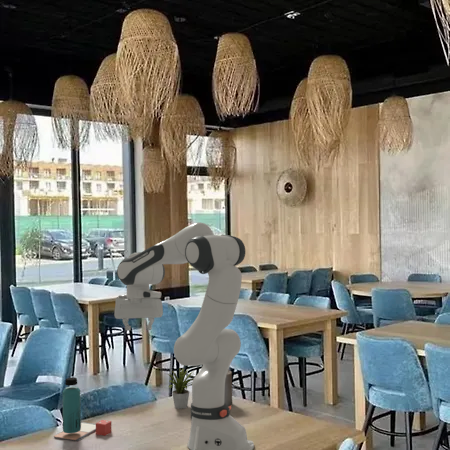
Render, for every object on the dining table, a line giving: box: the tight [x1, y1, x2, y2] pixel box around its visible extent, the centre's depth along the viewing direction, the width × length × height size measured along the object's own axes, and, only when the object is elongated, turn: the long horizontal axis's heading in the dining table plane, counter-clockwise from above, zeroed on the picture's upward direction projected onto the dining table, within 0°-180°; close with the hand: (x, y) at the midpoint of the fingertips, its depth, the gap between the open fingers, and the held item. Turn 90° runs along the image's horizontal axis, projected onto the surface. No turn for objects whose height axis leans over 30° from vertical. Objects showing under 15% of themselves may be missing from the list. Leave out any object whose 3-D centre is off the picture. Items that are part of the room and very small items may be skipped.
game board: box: [53, 421, 96, 442], centre depth 214 cm, size 10×17×1 cm, turn 158°
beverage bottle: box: [61, 377, 82, 433], centre depth 210 cm, size 6×7×20 cm
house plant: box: [164, 367, 196, 410], centre depth 243 cm, size 14×14×16 cm
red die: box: [95, 419, 112, 437], centre depth 213 cm, size 4×4×4 cm
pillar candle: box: [224, 369, 233, 407], centre depth 247 cm, size 10×10×15 cm
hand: (138, 330), depth 229 cm, fingers open, 8 cm apart
